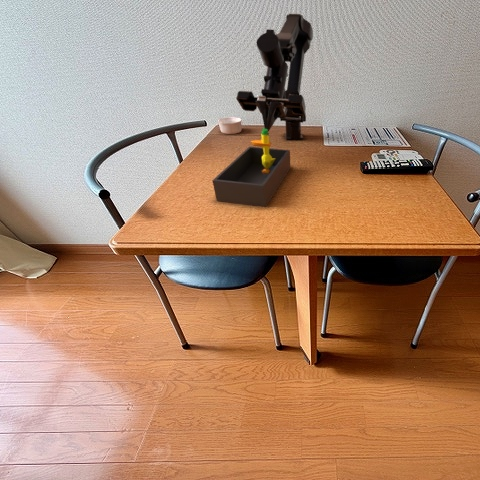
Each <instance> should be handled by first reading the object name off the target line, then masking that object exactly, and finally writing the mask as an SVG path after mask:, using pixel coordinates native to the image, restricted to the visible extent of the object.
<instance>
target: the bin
mask: <svg viewBox="0 0 480 480" xmlns="http://www.w3.org/2000/svg"><path fill="white" fill-rule="evenodd" d="M263 154H264V152H263V147H260V146H248V147H247V148H245V150H244V151H243V152H241V153H240V154H239V155H238V156H237V157H236V158H235V159H234V160H233V161H232V162H231V163H230V164H228V165H227V166H226V167H225V168H224V169H223V170H221V172H220V173H219V174H218V175H216V176H215V177H214V178H213V179H212V185H213V190H214V195H215V200H216V202H220V203H221V202H222V203H229V204H238V205H239V204H240V205H246V206H247V205H248V206H256V207H265V208H266V207H267V205H268V204H269V202H270V201H271V199H272V198H273V197H274V195H275V193H276V191H277V190H278V189H279V187H280V185H281V184H282V183H283V180H284V179H285V177H286V176H287V174H288V173H289V171H290V170H291V150H290V149H280V148H270V147H269V154H270V155H271V157H272V158H276V159H275V160H274V162H273V164H272V165H271V167H270V168H269V170H270V172H269V173H262V170H263V169H265V167H264V166H263V164H262V156H263Z"/></svg>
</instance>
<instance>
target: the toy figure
mask: <svg viewBox="0 0 480 480" xmlns="http://www.w3.org/2000/svg"><path fill="white" fill-rule="evenodd" d="M260 137H261V138H260V139H254V140H251V141H250V144H252V146H253V147H260V148H263V152H264V154H263V156H262V164H263V166H264V167H265V169H263V170H262V173H269V172H270V170H269V168H270V167H271V165H272V164H273V162H274V160H275V159H276V158H272V157H271V155H270V154H269V148H270V147H271V146H272V142H270V133H269V131H268V129H265V128H262V129H261V132H260Z"/></svg>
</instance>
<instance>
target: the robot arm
mask: <svg viewBox="0 0 480 480" xmlns="http://www.w3.org/2000/svg"><path fill="white" fill-rule="evenodd" d="M313 39H314V30H313V27H312V24H311V22H310V21H308V20H307V19H305V18H304V16H303V14H301V13H288V14H286V17H285V22H284V23H283V25H282V27H281V29H280V31H279V32H278V33H276V32H275V29H270V28H269V29H268V28H266V30H265V32H264V33H262V34H261V35H260V36H258V38H257V39H256V48H257V49H258V52H259V54H260V57H261V60H262V62H263V65H264V66H266V67H267V68H266V75H263V81H264V85H263V88H261V91H260V93H261V95H257V97H256V96H255V95H254V92H253V91H250V90H238V92H237V93H236V97H235V98H236V101H237V102H238V104H239V106H240V108H241V109H242V110H243V111H246V112H255V111H256V110H257V109H258V111H259V112H260V114H261V116H262V117H261V118H262V123H263V127H264V129H268V132H270V130H271V128H273V125H274V124H275V122H276V121H277V119H279V121H280V122H284V125H285V132H284V133H283V137H284V138H285V140H286V141H291V140H292V141H293V140H294V141H295V140H303V139H304V136H303V134H302V123H305V122H307V114H306V103H305V98H304V96H303V95H302V94H301V85H302V78H303V70H304V69H303V68H304V63H305V62H304V61H305V54H306V53H307V52H308V51H309V50H310V48H311V43H312V41H313ZM288 63H289V65H288ZM287 77H288V79H287ZM286 82H287V86H286ZM286 87H287V88H286Z"/></svg>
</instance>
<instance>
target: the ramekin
mask: <svg viewBox="0 0 480 480" xmlns="http://www.w3.org/2000/svg"><path fill="white" fill-rule="evenodd" d="M242 121H243V120H242V118H240V117H236V116H226V117H221V118H219V119H217V123H218V125H219V129H220V132H221V133H222V134H225V135H235V134H239V133H241V132H242V129H243V128H242Z"/></svg>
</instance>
